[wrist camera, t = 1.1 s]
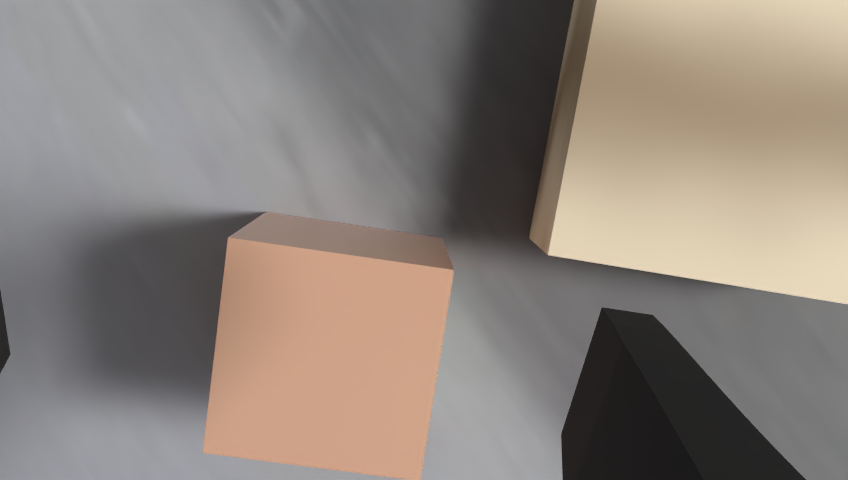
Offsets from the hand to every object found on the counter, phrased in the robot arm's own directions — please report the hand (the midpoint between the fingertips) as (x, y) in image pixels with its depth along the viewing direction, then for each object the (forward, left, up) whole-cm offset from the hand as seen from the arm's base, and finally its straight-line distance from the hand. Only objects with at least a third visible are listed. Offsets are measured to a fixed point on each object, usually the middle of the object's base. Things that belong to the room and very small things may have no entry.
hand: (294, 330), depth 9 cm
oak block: (+4, -8, -11) cm, 14 cm away
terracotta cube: (-2, 0, -11) cm, 11 cm away
